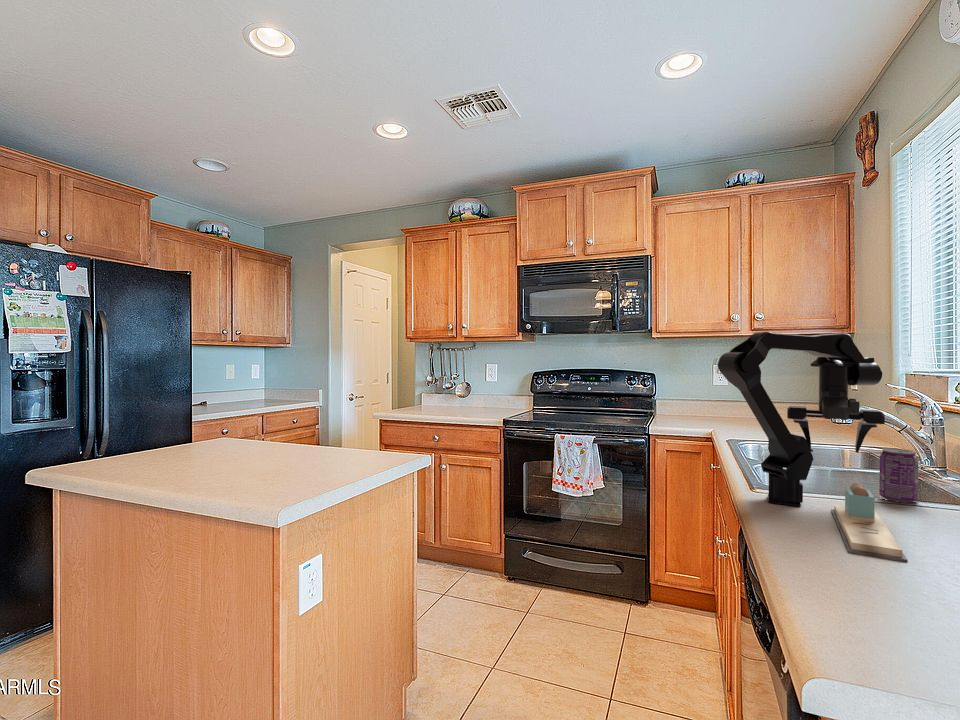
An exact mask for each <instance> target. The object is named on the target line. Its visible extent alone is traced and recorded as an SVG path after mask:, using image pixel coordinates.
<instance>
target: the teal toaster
mask: <svg viewBox="0 0 960 720" xmlns="http://www.w3.org/2000/svg"><path fill="white" fill-rule="evenodd" d="M844 494H845V495H844V497H845V498H844V507H845V511H846V513H847V515H848V517H849V519H850V520H858V521H865V522H872V523H875V520H874V518H875V512H876V511H875V508H876V507H875V505H876V504H875V501H876V497H875V496H874V494H873V493H872V492H871V490H870V489H867V488H865V487H864V485H862V484H860V483H852V484H851V485H850V487H846V486H845V488H844Z"/></svg>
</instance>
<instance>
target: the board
mask: <svg viewBox="0 0 960 720" xmlns="http://www.w3.org/2000/svg"><path fill="white" fill-rule="evenodd" d="M831 511H832V512H831V514H832V516H833V519H834V518H835V519H834V521H835V523H837V524H836V526H837V529H838V530H840V531H839V533H840V535H841V538H842V541H843V542H844V544H845V547H846V549H847V552H848V553H850V554H855V555H862V556H865V557H866V556H868V557H872V558H880V559H884V560H885V559H886V560H890V561H891V560H893V561H897V562H904V563H908V558H907V557H906V555H905V554H904V553H903V548H901V546H900V544H899V543H898V541H897V540H896V539H895V538H894V536H893V535H892V533H891V532H890V531H889V529H888V527H887V526H886V525H885V524H884V522H883V521H882V519H881V518H880V516H879V515H878V514H877V512H876V511H875V518H874V520H875V523H872V522H865V521H858V520H850V519H849V517H848V515H847V513H846V511H845V505H836V504H834V508H831Z"/></svg>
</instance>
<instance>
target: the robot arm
mask: <svg viewBox="0 0 960 720" xmlns="http://www.w3.org/2000/svg"><path fill="white" fill-rule="evenodd" d="M770 350H779V351H781V350H782V351H795V352H805V353H808V354H809V355H811V356H816V357H817V358H816V359H815V360H814V361H813V362H810V367H814V368H815V367H816V368H818V409H807V407H806V406H801V405H789V406H788V407H787V410H786V413H787V420H793V421H792V422H793V423H796V424H798V425H799V426H800V429H801V431H802V432H803V435H804V436H802V435H797V434H794V433H791V432H790V430H789V428H788V427H787V425H786V423H785V422H784V419H783V418H782V416H781V414H780V413H779V411H778V410H777V408H776V406H775V404H774V402H773V401H772V399H771V398H770V396H769V394H768V392H767V391H766V389H765V388H764V386H763V384H762V381H761V380H762V370H761V367H760V365H761V364H762V363H763V362H764V361H765V360H766V358H767V356H768V354H769V352H770ZM717 368H718V371H719V372H720V373H721V374H722V376H723V377H724V378H725V379H726V380H727V382H729V383H730V384H732V385H733V386H734V387H735V388H737V389H738V391H740V394H742V397H743V398H744V400H745V401H746V404H747V405H748V407H749V409H750V410H751V412H752V414H753V415H754V417H755V418H756V420H757V422H758V424H759V426H760V427H761V428H762V431H763V432H764V434H765V436H766V438H767V440H768V443H767V451H768V452H769V455H768V456H767V457H765V459H764V460H763V461H762V462H761V463H760V466H761V470H762V472H763V473H767V474H768V494H767V502H768V503H771V504H778V505H785V506H793V507H801V506H802V505H801V504H803V503H804V501H803V500H804V499H803V498H804V497H803V495H804V485H803V483H802V482H801V481H806V480H807V479H808V476H809V472H810V469H811V467H812V464H813V462H814V456H813V452H814V449H812V441H811V433H810V428H809V421H808V419H807V418H821V419H824V420H825V419H826V420H832V419H835V420H841V421H847V420H858V422H857V430H856V438H855V443H854V444H855V445H854V446H855V448H854V449H855V453H859V451H860V449H861V447H862V445H863V442H864V440H865V437H866V436H867V435H868V433H869V432H870V430H872V429H873V428H874V429H875V428H878V425H885V424H886V423H885V422H886V419H885V413H884V412H882V411H881V410H879V409H867V408H866V409H865V408H860V399H859V398H849V386H876V385H878V384H879V383H880V382H881V381H882V378H883V371H882V368H881V367H880V365H878V364H877V363H876V362H875V358H874V357H864V356H863V354H862V353H861V351H860V350H859V348H858V347H857V345H856V344H855V342H854V341H853V338H852V337H851V335H850V334H848V333H842V332H840V333H823V334H815V335H804V334H802V335H801V334H790V333H789V334H787V333H779V332H778V333H776V332H770V331H758V332H754V333H752V334H751V335H750V336H748V337H747V339H746V340H744V341H742V342H741V343H739V344H738V345H736V346H734V347H732V349H730V350H729V352H724V353H723V354H721V356H720V357H719V359H718V363H717Z"/></svg>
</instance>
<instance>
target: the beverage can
mask: <svg viewBox="0 0 960 720" xmlns="http://www.w3.org/2000/svg"><path fill="white" fill-rule="evenodd" d="M881 451H882V452H881V454H880V455H879V479H878V480H879V488H878V490H879V491H878V494H879V495H880V496H881V497H882V498H883V499H884V500H887V501H890V502H894V501H898V502H897V503H900V502H911V503H913V502H918V500H919V460H918V457H917V455H916V451H913V450H910V449H903V448H894V447H891V448H889V447H886V448H882V450H881Z"/></svg>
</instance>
